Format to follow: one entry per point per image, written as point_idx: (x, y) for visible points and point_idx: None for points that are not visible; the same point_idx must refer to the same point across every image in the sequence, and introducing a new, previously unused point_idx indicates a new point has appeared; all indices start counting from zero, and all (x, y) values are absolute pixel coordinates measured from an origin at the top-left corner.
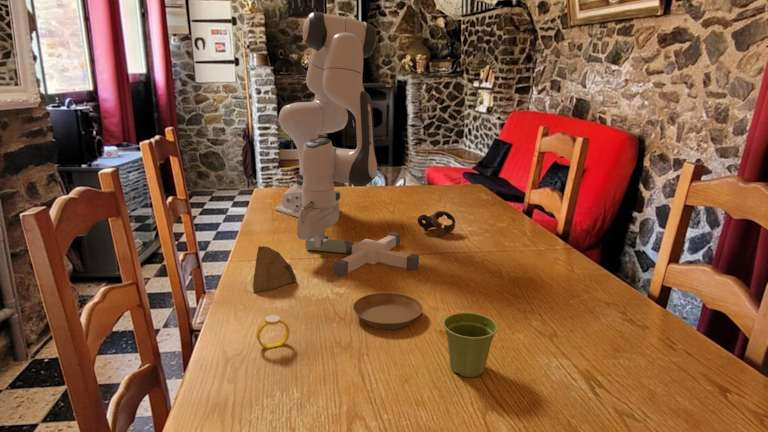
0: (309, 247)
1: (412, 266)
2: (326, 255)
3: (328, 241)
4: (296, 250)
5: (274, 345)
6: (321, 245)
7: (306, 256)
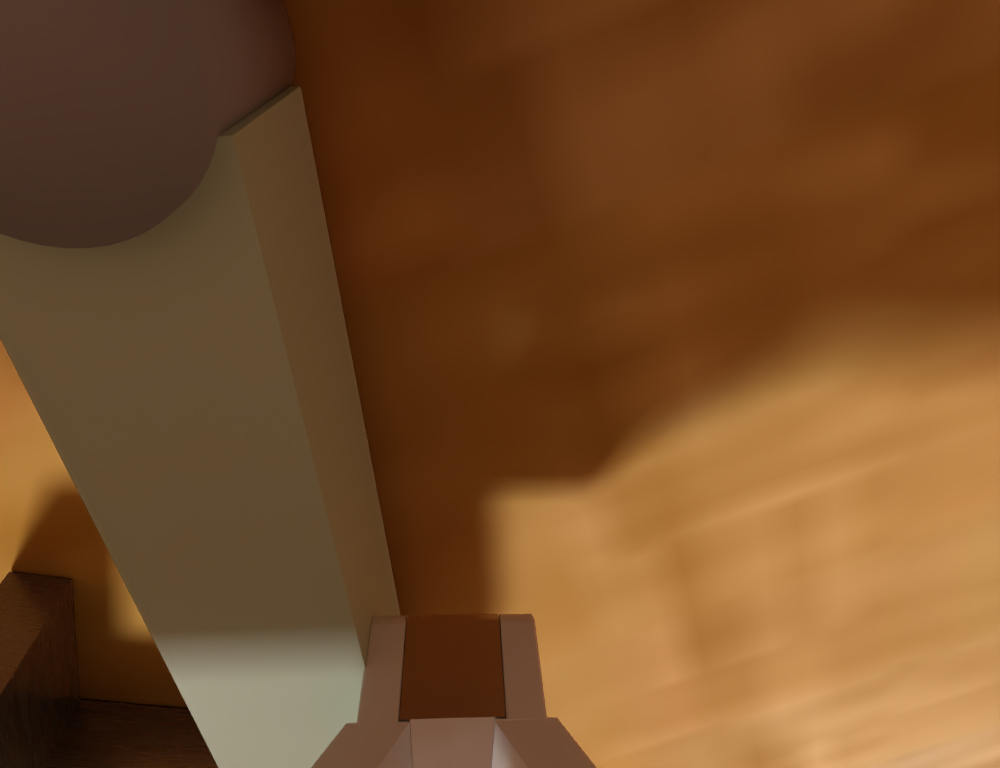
0: None
1: None
2: (502, 418)
3: (304, 607)
4: None
5: None
6: (476, 623)
7: (619, 615)
